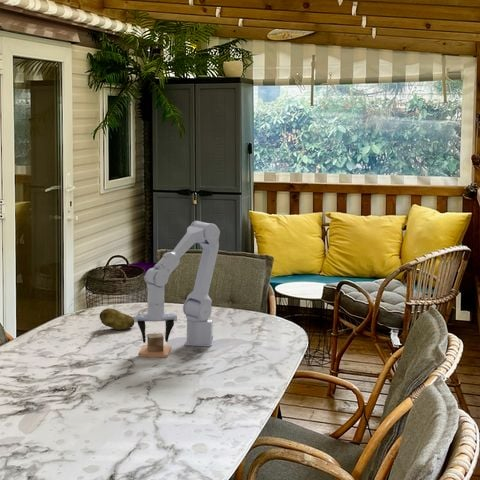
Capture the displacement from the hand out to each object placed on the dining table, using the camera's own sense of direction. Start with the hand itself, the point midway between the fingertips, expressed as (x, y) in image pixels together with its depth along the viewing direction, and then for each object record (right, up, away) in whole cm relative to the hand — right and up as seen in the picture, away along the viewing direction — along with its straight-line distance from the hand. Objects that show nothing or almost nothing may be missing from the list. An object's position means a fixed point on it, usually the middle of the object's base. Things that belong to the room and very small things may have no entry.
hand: (155, 341), depth 257 cm
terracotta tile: (0, -4, +1) cm, 4 cm away
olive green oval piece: (-18, +1, +28) cm, 33 cm away
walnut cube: (0, -3, 0) cm, 3 cm away
